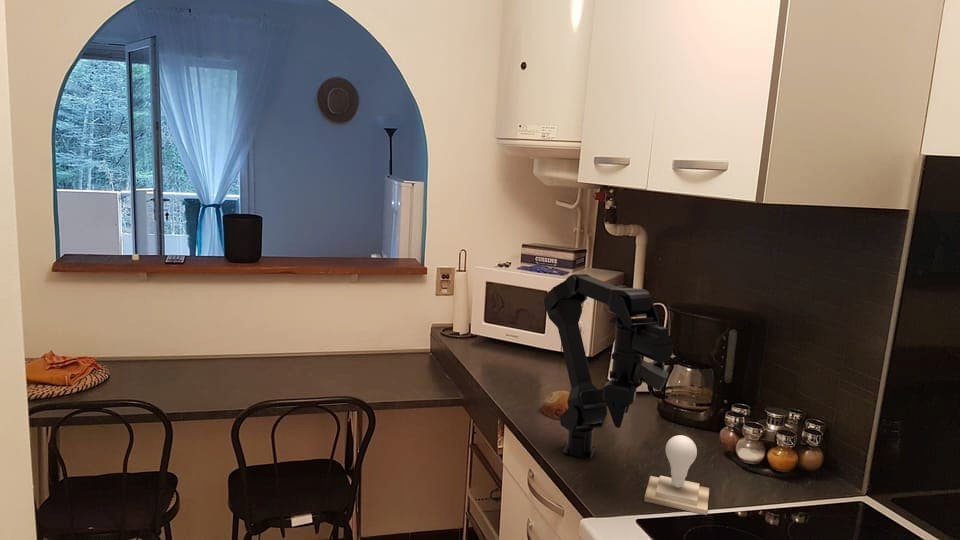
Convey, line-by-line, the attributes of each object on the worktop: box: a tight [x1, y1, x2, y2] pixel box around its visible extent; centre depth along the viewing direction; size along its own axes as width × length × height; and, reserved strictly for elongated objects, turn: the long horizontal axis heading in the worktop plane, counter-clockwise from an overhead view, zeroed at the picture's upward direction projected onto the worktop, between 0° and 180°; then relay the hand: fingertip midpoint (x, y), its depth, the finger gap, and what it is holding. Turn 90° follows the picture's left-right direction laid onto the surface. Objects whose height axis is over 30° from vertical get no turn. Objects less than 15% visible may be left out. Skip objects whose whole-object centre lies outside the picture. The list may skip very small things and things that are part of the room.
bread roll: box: [541, 390, 570, 421], centre depth 180 cm, size 10×10×8 cm
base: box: [643, 475, 710, 516], centre depth 138 cm, size 10×12×2 cm
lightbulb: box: [665, 434, 698, 488], centre depth 137 cm, size 6×6×11 cm
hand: (621, 419), depth 143 cm, fingers open, 9 cm apart
